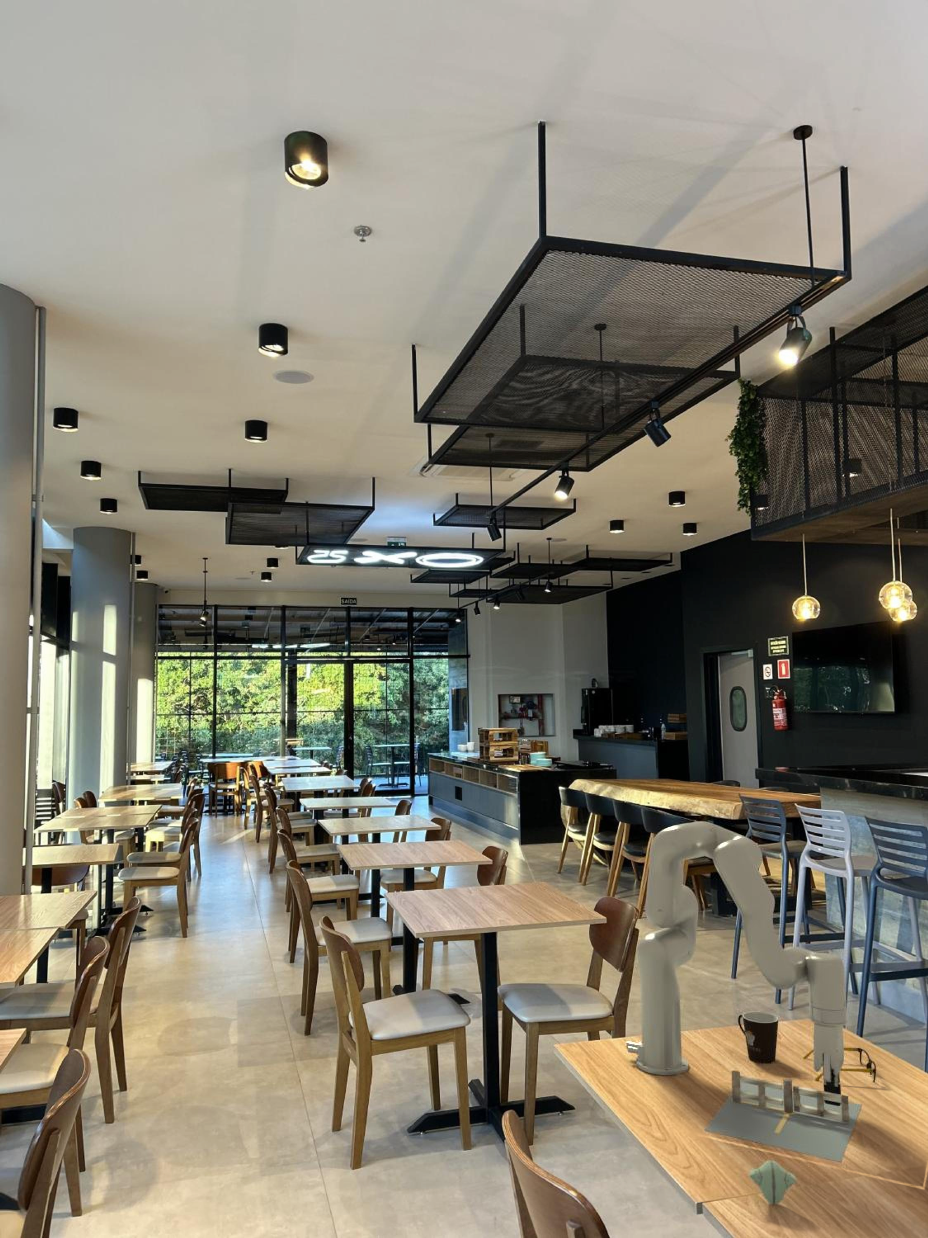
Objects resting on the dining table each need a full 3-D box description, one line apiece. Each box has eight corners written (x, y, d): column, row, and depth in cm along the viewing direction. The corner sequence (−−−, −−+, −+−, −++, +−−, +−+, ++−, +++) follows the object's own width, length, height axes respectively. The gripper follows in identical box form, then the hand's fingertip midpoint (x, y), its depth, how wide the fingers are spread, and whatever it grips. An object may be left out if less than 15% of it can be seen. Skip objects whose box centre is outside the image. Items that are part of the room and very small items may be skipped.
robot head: (750, 1207, 154) (749, 1165, 155) (748, 1195, 158) (746, 1154, 159) (799, 1212, 152) (797, 1170, 153) (795, 1200, 156) (794, 1159, 157)
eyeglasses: (880, 1087, 206) (879, 1068, 207) (815, 1082, 209) (814, 1064, 209) (864, 1064, 220) (863, 1047, 221) (803, 1060, 223) (802, 1043, 223)
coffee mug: (785, 1065, 218) (783, 1023, 219) (749, 1065, 218) (748, 1022, 219) (769, 1048, 230) (768, 1008, 231) (736, 1048, 230) (734, 1008, 231)
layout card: (704, 1132, 182) (704, 1129, 182) (741, 1082, 208) (741, 1080, 208) (840, 1164, 169) (840, 1161, 169) (861, 1107, 194) (861, 1104, 194)
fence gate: (793, 1111, 190) (792, 1087, 190) (794, 1109, 191) (794, 1085, 191) (848, 1123, 184) (847, 1098, 185) (849, 1120, 185) (848, 1096, 186)
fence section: (731, 1101, 196) (730, 1071, 197) (733, 1098, 198) (732, 1068, 198) (792, 1114, 190) (790, 1082, 190) (793, 1111, 191) (792, 1080, 192)
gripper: (815, 1002, 202) (820, 1088, 199) (803, 1021, 189) (808, 1113, 187) (851, 1007, 198) (856, 1095, 196) (841, 1027, 185) (846, 1120, 183)
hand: (833, 1103), depth 191 cm, fingers closed
